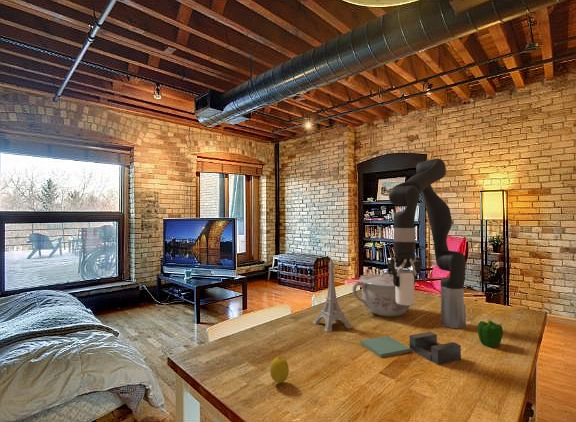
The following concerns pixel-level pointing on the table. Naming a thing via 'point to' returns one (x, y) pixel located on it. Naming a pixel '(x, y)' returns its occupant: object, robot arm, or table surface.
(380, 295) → the chamber pot
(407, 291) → the can
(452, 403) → the table surface
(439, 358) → the block
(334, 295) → the eiffel tower
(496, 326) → the bell pepper
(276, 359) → the lemon
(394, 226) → the robot arm
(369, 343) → the mat
